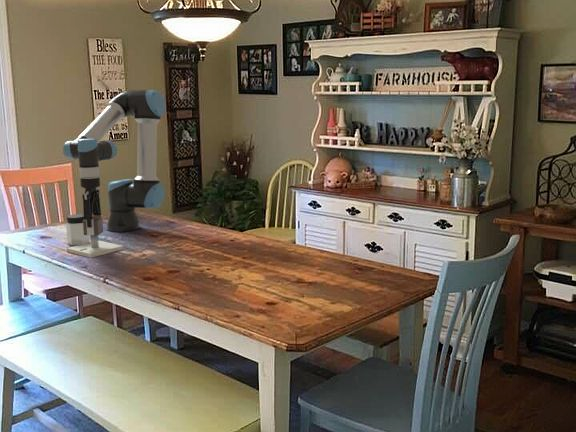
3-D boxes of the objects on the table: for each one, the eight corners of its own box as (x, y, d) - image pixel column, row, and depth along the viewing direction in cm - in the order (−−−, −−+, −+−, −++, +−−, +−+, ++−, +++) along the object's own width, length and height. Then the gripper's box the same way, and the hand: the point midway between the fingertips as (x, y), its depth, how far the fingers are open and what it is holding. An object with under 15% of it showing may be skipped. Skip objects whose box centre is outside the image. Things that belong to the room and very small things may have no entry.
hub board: (99, 243, 280) (98, 228, 279) (123, 249, 271) (122, 232, 269) (66, 251, 268) (65, 235, 266) (90, 257, 258) (89, 240, 257)
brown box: (104, 231, 271) (102, 213, 269) (98, 235, 265) (97, 216, 263) (88, 231, 271) (87, 213, 270) (82, 235, 265) (81, 216, 263)
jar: (91, 243, 282) (89, 216, 279) (73, 246, 277) (71, 218, 274) (83, 239, 289) (81, 213, 286) (65, 242, 284) (63, 215, 281)
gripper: (88, 174, 273) (92, 227, 278) (71, 180, 254) (76, 238, 258) (106, 174, 273) (110, 227, 277) (90, 180, 254) (95, 238, 258)
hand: (93, 232), depth 268 cm, fingers closed on brown box, 6 cm apart
